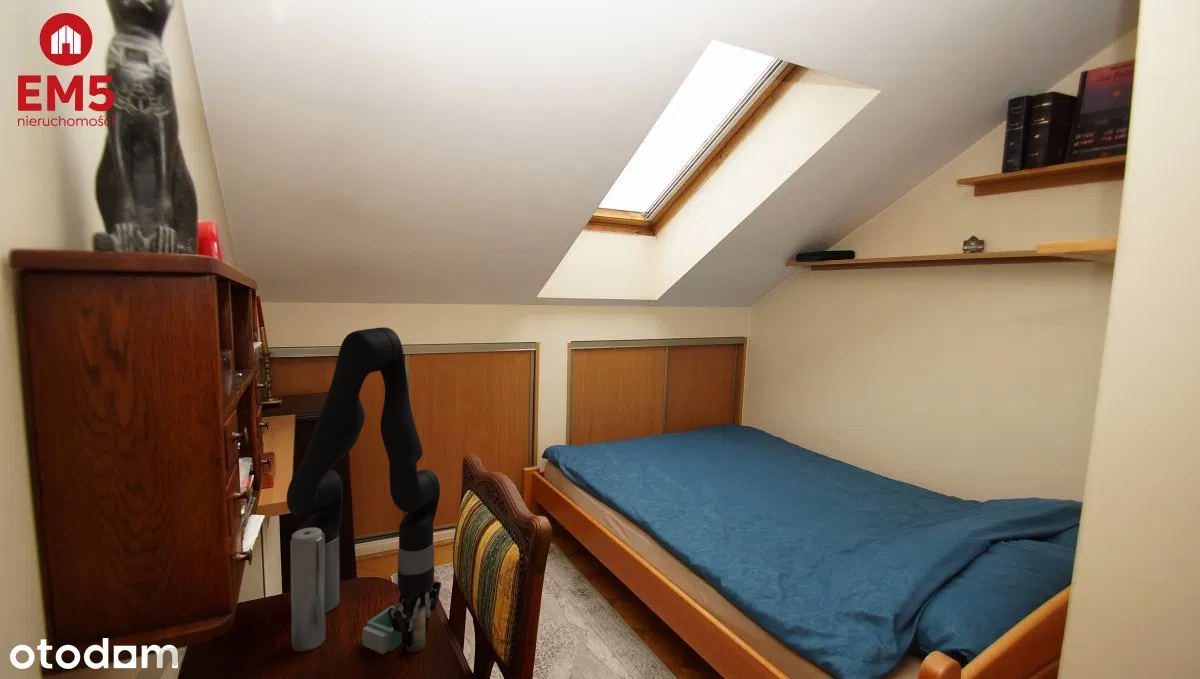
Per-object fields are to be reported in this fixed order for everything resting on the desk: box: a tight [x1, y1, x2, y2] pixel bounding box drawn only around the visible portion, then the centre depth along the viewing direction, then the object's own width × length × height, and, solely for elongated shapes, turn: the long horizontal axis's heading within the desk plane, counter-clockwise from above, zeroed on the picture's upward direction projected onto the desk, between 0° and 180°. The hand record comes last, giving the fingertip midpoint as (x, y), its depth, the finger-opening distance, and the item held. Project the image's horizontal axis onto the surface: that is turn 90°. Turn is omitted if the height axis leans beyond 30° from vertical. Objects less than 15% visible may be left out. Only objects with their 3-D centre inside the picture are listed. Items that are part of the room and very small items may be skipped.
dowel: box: [405, 605, 426, 653], centre depth 113 cm, size 4×4×9 cm
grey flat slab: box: [362, 624, 389, 655], centre depth 112 cm, size 6×1×4 cm, turn 66°
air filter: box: [289, 528, 326, 653], centre depth 113 cm, size 6×6×25 cm
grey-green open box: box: [366, 604, 403, 652], centre depth 116 cm, size 7×7×4 cm
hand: (415, 638), depth 114 cm, fingers closed on dowel, 4 cm apart
